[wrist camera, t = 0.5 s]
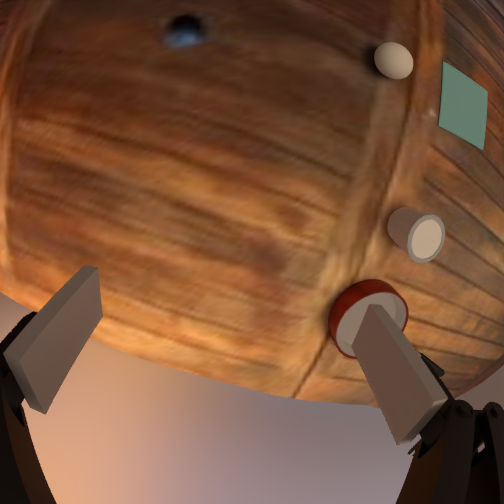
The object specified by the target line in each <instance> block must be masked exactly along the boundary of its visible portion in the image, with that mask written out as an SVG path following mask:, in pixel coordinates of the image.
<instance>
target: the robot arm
mask: <svg viewBox="0 0 504 504" xmlns="http://www.w3.org/2000/svg"><path fill="white" fill-rule="evenodd" d="M102 317H103V314H102V305H101V295H100V284H99V271H98V268H97V267H92V266H87V265H84V266H83V267H82V268H81V269H80V270H79V271H78V272H77V273H76V274H75V275H74V276H73V277H72V278H71V279H70V280H69V281H68V282H67V283H66V284H65V285H64V286H63V287H62V288H61V289H60V290H59V291H58V292H57V293H56V294H55V295H54V296H53V297H52V298H51V299H50V300H49V301H48V302H47V304H46V305H45V306H44V307H43V308H42V309H41V310H40V311H39V312H38V313H37V312H34V311H33V312H31V313H30V314H28V315H26V316H25V317H23V318H22V319H21V321H20V322H19V323H18V324H17V326H15V327H14V328H13V329H12V332H10V333H9V334H8V335H7V336H6V337H5V338H4V340H3V341H2V342H1V343H0V504H56V501H55V499H54V497H53V495H52V493H51V490H50V488H49V486H48V484H47V481H46V479H45V476H44V474H43V472H42V469H41V466H40V463H39V460H38V457H37V455H36V452H35V449H34V446H33V442H32V439H31V436H30V432H29V428H28V425H27V421H26V417H25V413H24V409H23V407H22V405H21V403H22V401H23V400H24V398H25V399H26V401H27V403H28V405H29V406H30V408H32V409H35V410H37V411H39V412H41V413H43V414H46V413H47V411H48V409H49V407H50V405H51V403H52V401H53V399H54V397H55V396H56V394H57V392H58V390H59V388H60V386H61V385H62V383H63V381H64V379H65V377H66V376H67V374H68V372H69V370H70V369H71V367H72V365H73V363H74V362H75V360H76V358H77V357H78V355H79V353H80V352H81V350H82V348H83V347H84V345H85V343H86V342H87V340H88V339H89V337H90V335H91V334H92V332H93V331H94V329H95V328H96V326H97V324H98V323H99V321H100V320H101V318H102ZM351 347H352V349H353V351H354V353H355V356H356V358H357V360H358V362H359V364H360V366H361V368H362V370H363V372H364V374H365V376H366V378H367V380H368V382H369V384H370V387H371V389H372V391H373V393H374V395H375V397H376V399H377V402H378V404H379V406H380V408H381V410H382V412H383V415H384V417H385V419H386V421H387V424H388V426H389V428H390V430H391V433H392V435H393V437H394V439H395V442H396V444H397V445H400V444H404V443H408V442H411V441H412V440H413V439H414V438H415V437H416V436H417V435H418V434H420V436H421V439H420V440H419V442H417V444H416V445H414V446H413V448H411V449H410V451H409V452H408V454H411V453H412V452H413V451H414V450H415V453H414V455H413V459H412V462H411V465H410V468H409V471H408V474H407V476H406V479H405V482H404V484H403V487H402V490H401V492H400V494H399V497H398V499H397V502H396V504H504V410H503V409H502V407H501V406H500V405H499V404H498V403H495V402H489V403H487V404H486V406H485V407H484V408H483V409H482V410H473V408H472V406H471V405H470V404H469V403H467V402H466V401H464V400H455V399H454V398H453V396H452V395H451V393H450V392H449V390H448V389H447V387H446V386H445V385H444V383H443V382H442V380H441V379H439V376H438V374H437V373H435V370H434V369H433V367H432V366H431V364H430V363H429V362H427V361H426V360H425V359H424V358H423V357H420V356H419V354H418V353H417V352H416V350H415V349H414V347H413V346H412V345H411V343H410V342H409V341H408V339H407V338H406V337H405V335H404V334H403V332H402V331H401V330H400V328H399V327H398V326H397V324H396V323H395V322H394V320H393V319H392V318H391V317H390V315H389V314H388V313H387V311H386V310H385V309H384V307H383V306H382V305H377V304H369V306H368V308H367V311H366V313H365V315H364V318H363V320H362V323H361V325H360V327H359V330H358V332H357V334H356V337H355V339H354V341H353V343H352V346H351ZM483 443H484V445H485V448H484V449H483V450H482V451H481V452H479V453H478V448H479V446H481V445H482V444H483Z"/></svg>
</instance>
